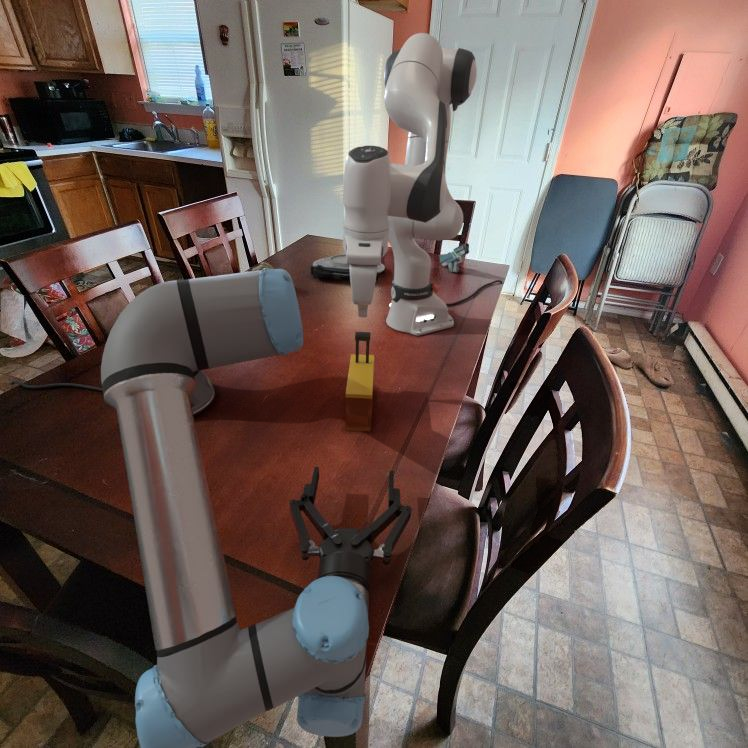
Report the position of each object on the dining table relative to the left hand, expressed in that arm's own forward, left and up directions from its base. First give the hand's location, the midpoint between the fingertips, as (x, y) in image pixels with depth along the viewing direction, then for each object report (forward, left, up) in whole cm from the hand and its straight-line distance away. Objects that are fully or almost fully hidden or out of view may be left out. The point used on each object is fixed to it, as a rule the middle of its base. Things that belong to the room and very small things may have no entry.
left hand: (354, 473), depth 75 cm
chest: (0, +25, -6) cm, 26 cm away
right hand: (0, +30, +19) cm, 36 cm away
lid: (0, +25, +4) cm, 26 cm away
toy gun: (+34, +121, -6) cm, 125 cm away
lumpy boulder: (-40, +91, -6) cm, 99 cm away
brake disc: (-10, +114, -6) cm, 115 cm away
